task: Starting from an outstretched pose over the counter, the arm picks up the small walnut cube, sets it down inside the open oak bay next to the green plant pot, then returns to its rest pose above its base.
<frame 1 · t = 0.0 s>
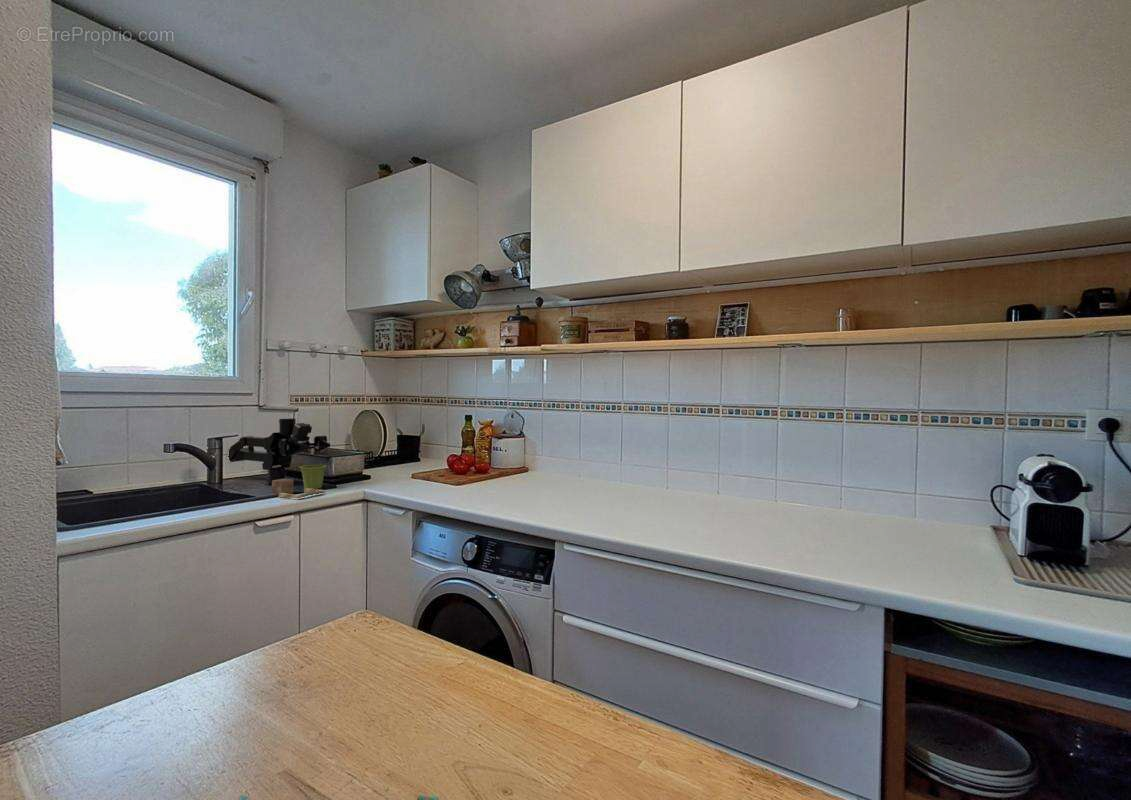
hand: (319, 446, 196), 17 cm above the countertop, tool horizontal, fingers open, 9 cm apart
walnut cube: (282, 493, 189), on the countertop
plant pot: (313, 488, 198), on the countertop
oak bay: (302, 495, 184), on the countertop
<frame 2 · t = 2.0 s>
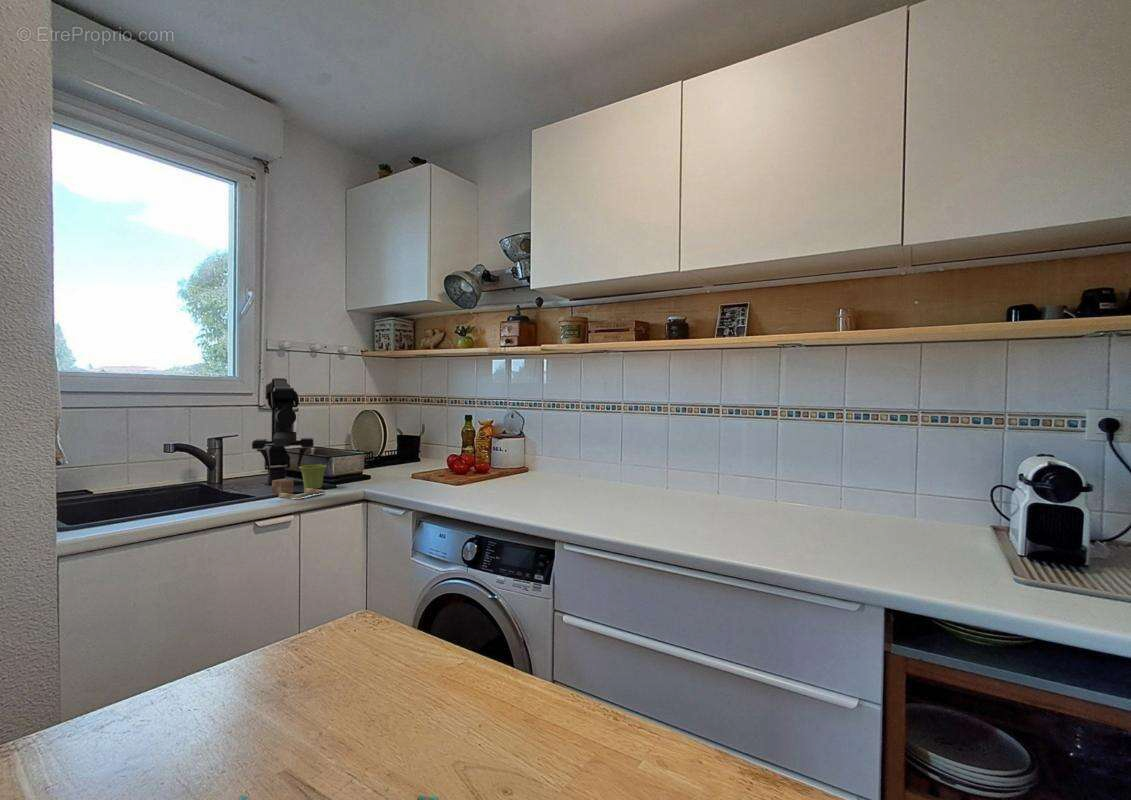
hand: (284, 467, 180), 11 cm above the countertop, tool pointing down, fingers open, 9 cm apart
nothing on the countertop moved.
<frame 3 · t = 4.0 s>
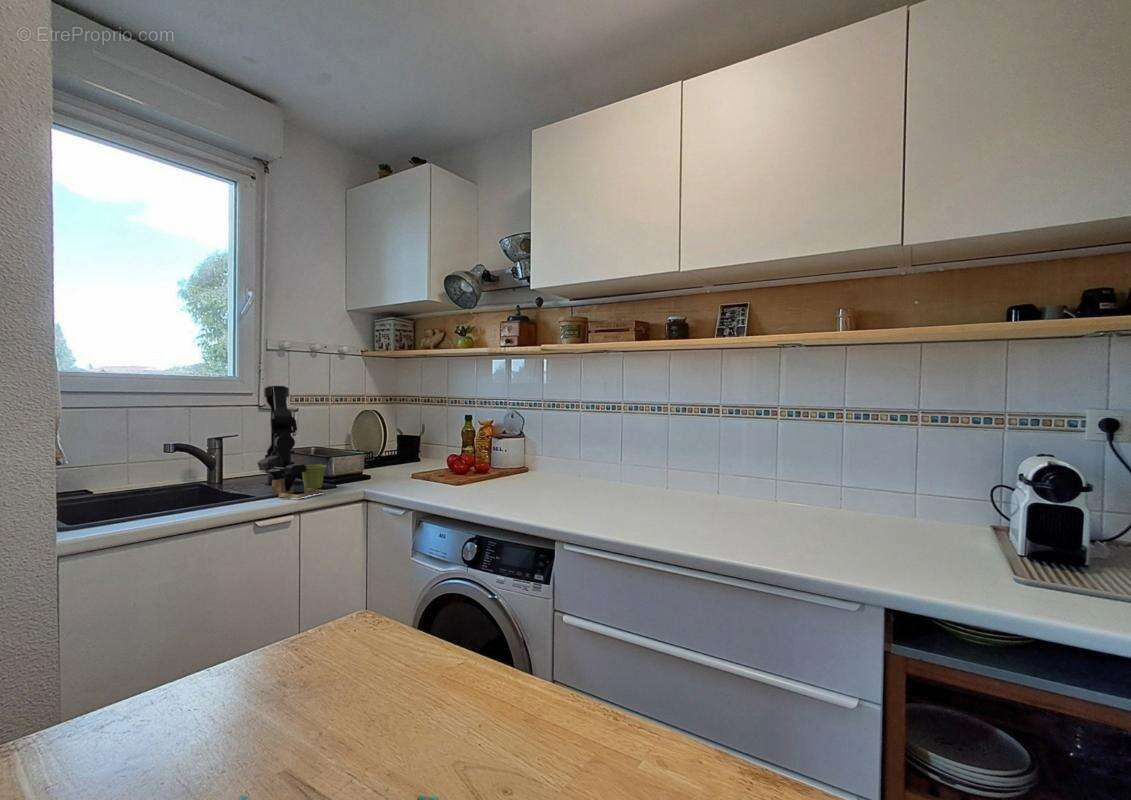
hand: (282, 490, 189), 1 cm above the countertop, tool pointing down, fingers closed on walnut cube, 5 cm apart
walnut cube: (282, 493, 189), on the countertop, touching gripper
everything else where it was.
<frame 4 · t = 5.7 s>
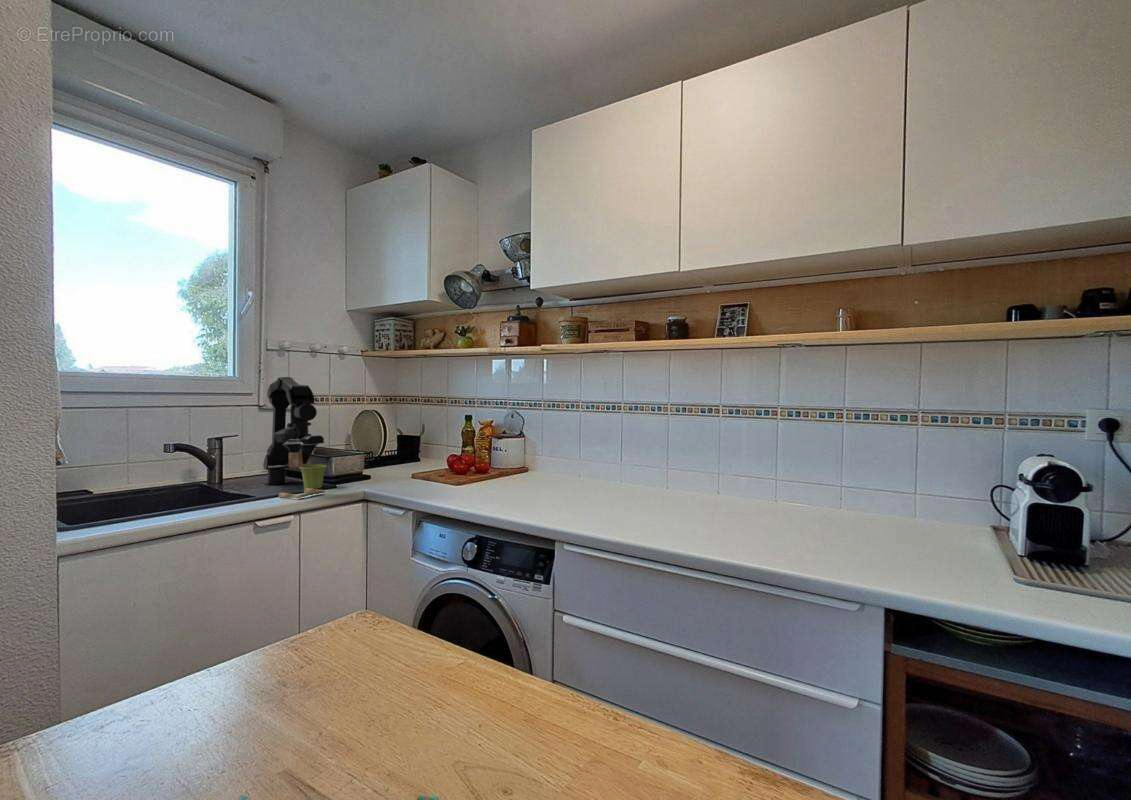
hand: (299, 463, 184), 12 cm above the countertop, tool pointing down, fingers closed on walnut cube, 5 cm apart
walnut cube: (299, 466, 184), point 11 cm above the countertop, touching gripper
everything else where it was.
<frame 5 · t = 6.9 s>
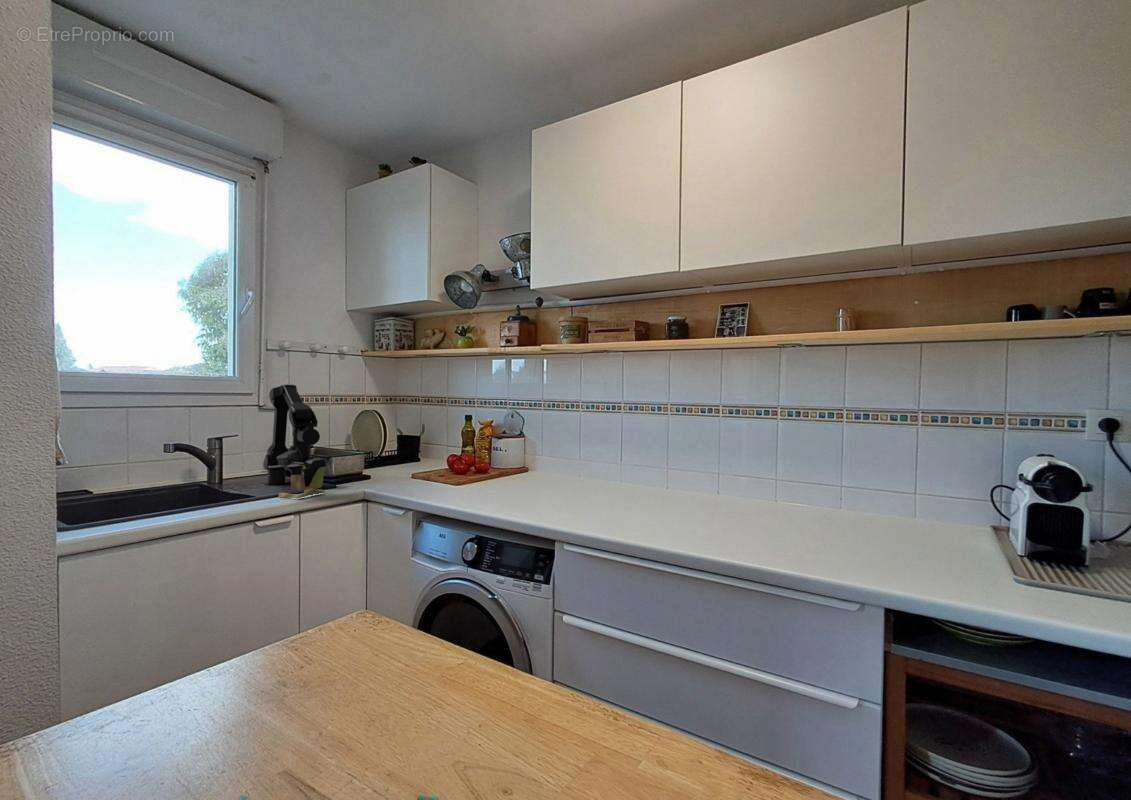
hand: (302, 486, 184), 4 cm above the countertop, tool pointing down, fingers closed on walnut cube, 5 cm apart
walnut cube: (301, 488, 184), point 2 cm above the countertop, touching gripper
everything else where it was.
when the fingers open (2 cm above the countertop, at t = 7.5 s): walnut cube drops 2 cm, on the countertop.
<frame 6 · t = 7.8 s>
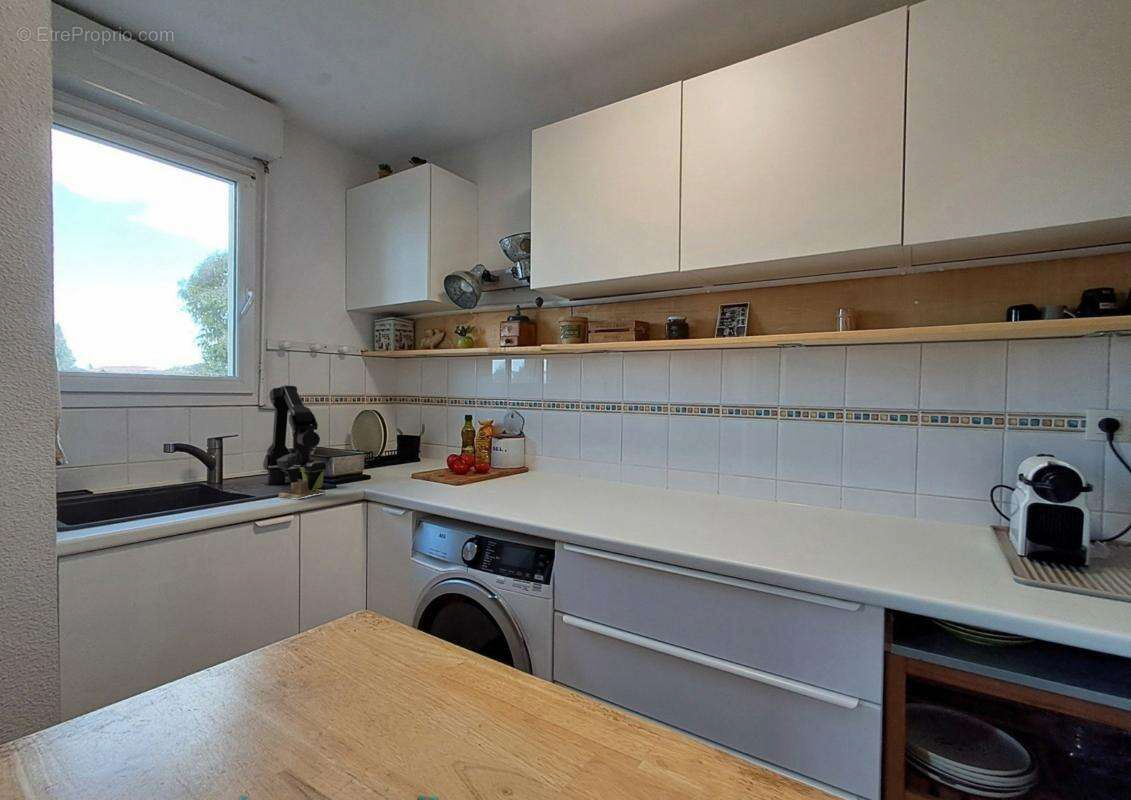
hand: (302, 488, 184), 2 cm above the countertop, tool pointing down, fingers open, 8 cm apart
walnut cube: (301, 496, 184), on the countertop
everything else where it was.
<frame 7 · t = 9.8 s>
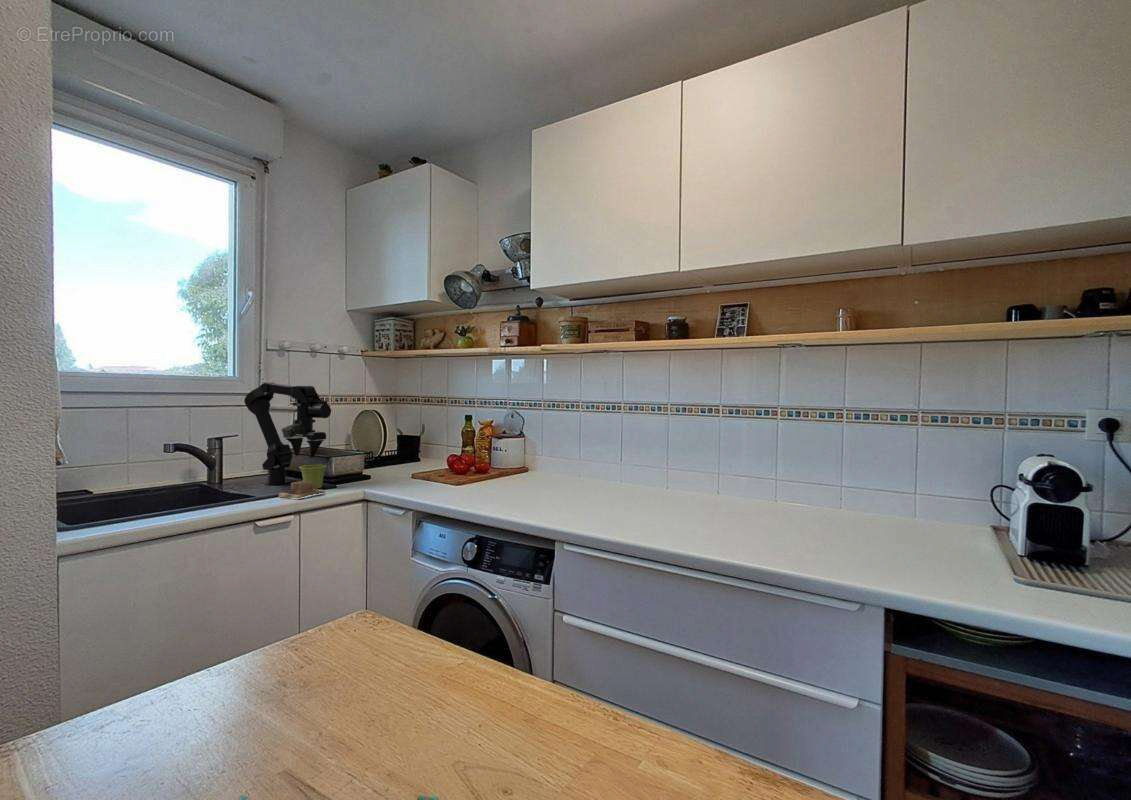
hand: (304, 456, 203), 12 cm above the countertop, tool pointing down, fingers open, 9 cm apart
nothing on the countertop moved.
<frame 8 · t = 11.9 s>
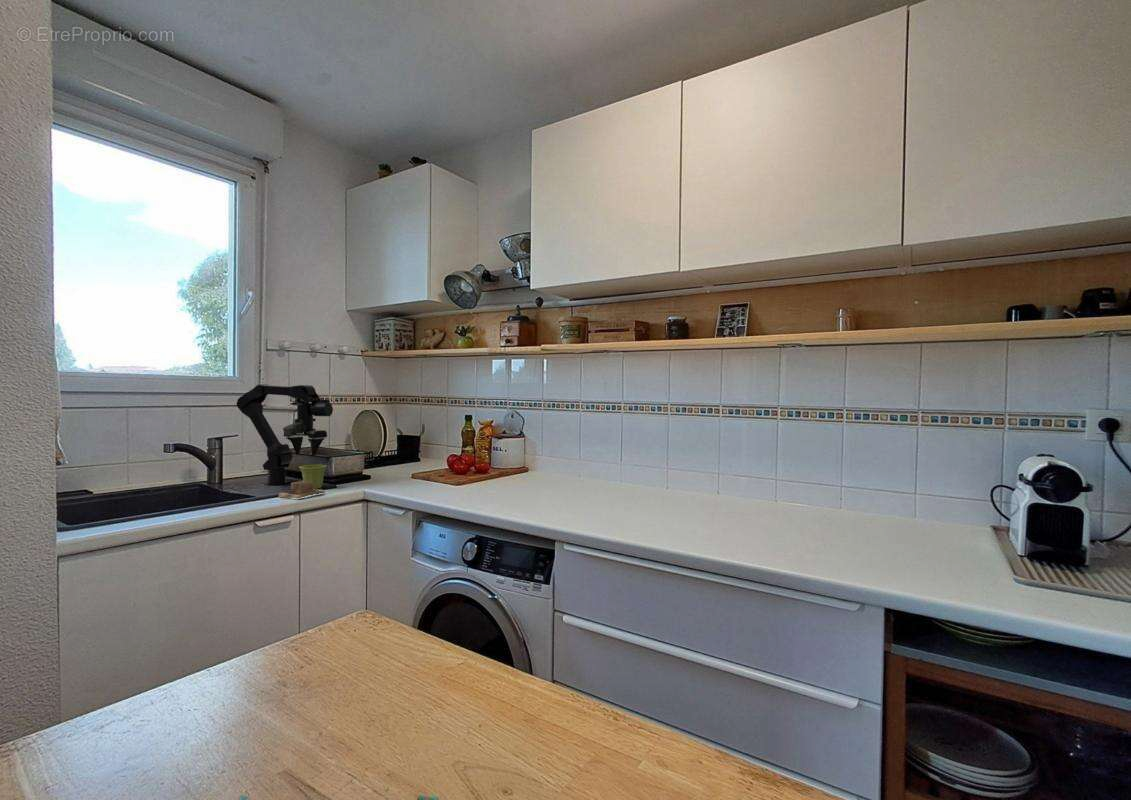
hand: (305, 455, 206), 12 cm above the countertop, tool pointing down, fingers open, 9 cm apart
nothing on the countertop moved.
at the end: walnut cube inside the target area (0.4 cm from its centre), on the countertop; the gripper is holding nothing; walnut cube tilted 0° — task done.
